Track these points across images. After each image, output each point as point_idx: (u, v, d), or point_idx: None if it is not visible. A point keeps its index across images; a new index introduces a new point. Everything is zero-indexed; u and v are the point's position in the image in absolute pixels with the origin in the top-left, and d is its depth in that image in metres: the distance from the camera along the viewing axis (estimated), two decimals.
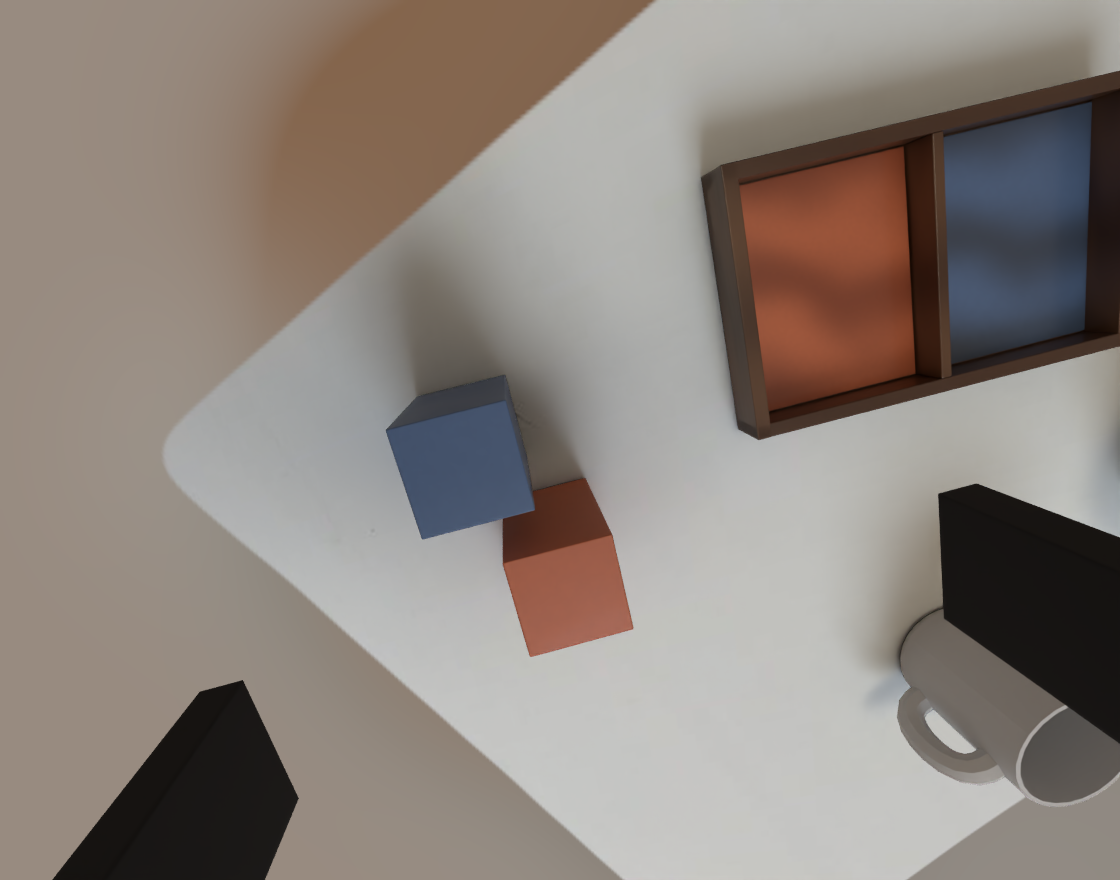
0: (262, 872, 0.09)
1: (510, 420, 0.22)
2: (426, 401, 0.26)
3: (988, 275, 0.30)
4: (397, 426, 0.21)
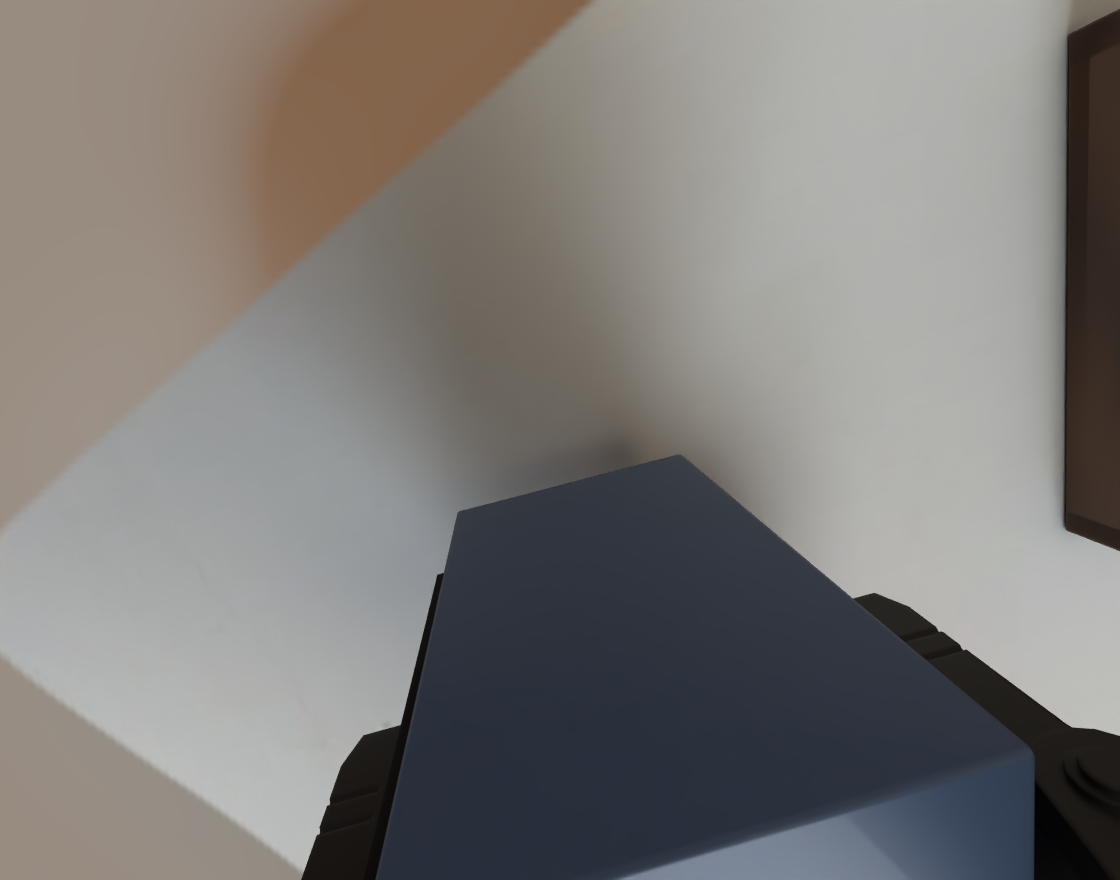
0: None
1: (1029, 839, 0.04)
2: (500, 562, 0.09)
3: None
4: None
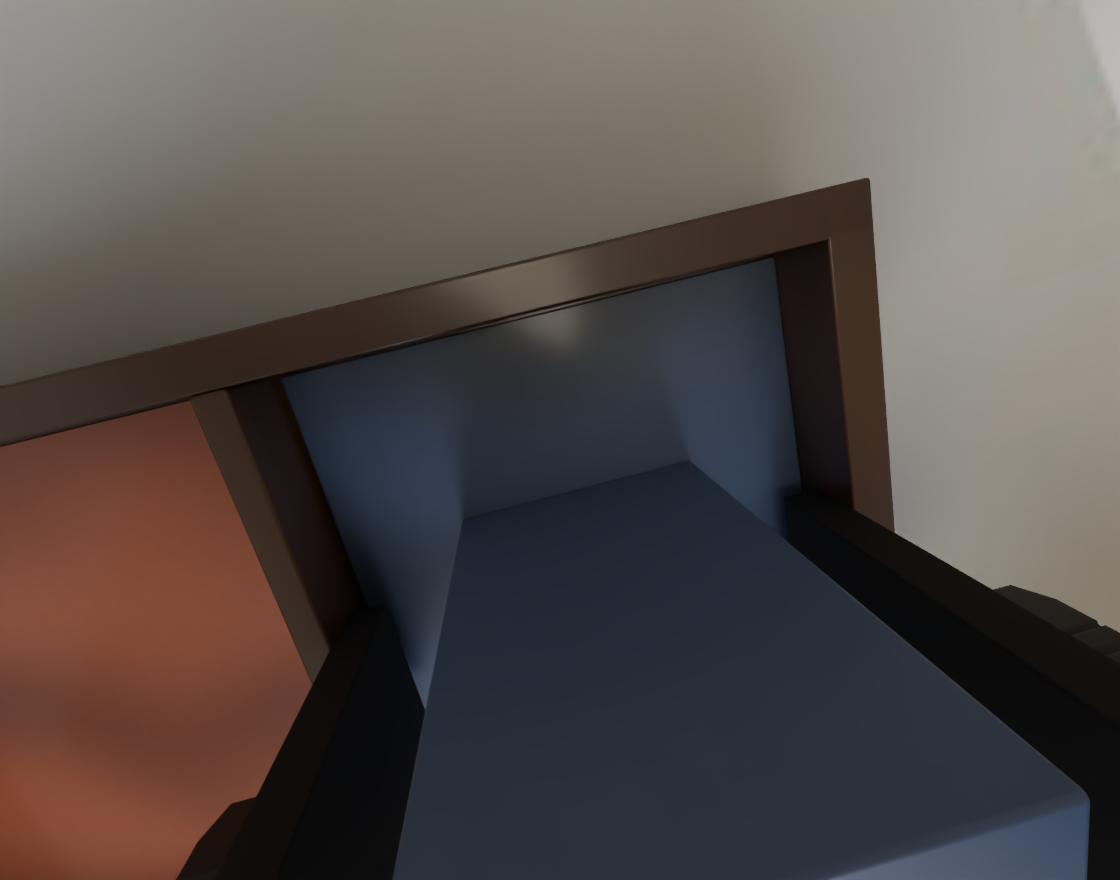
0: (410, 762, 0.10)
1: None
2: (507, 575, 0.08)
3: None
4: None
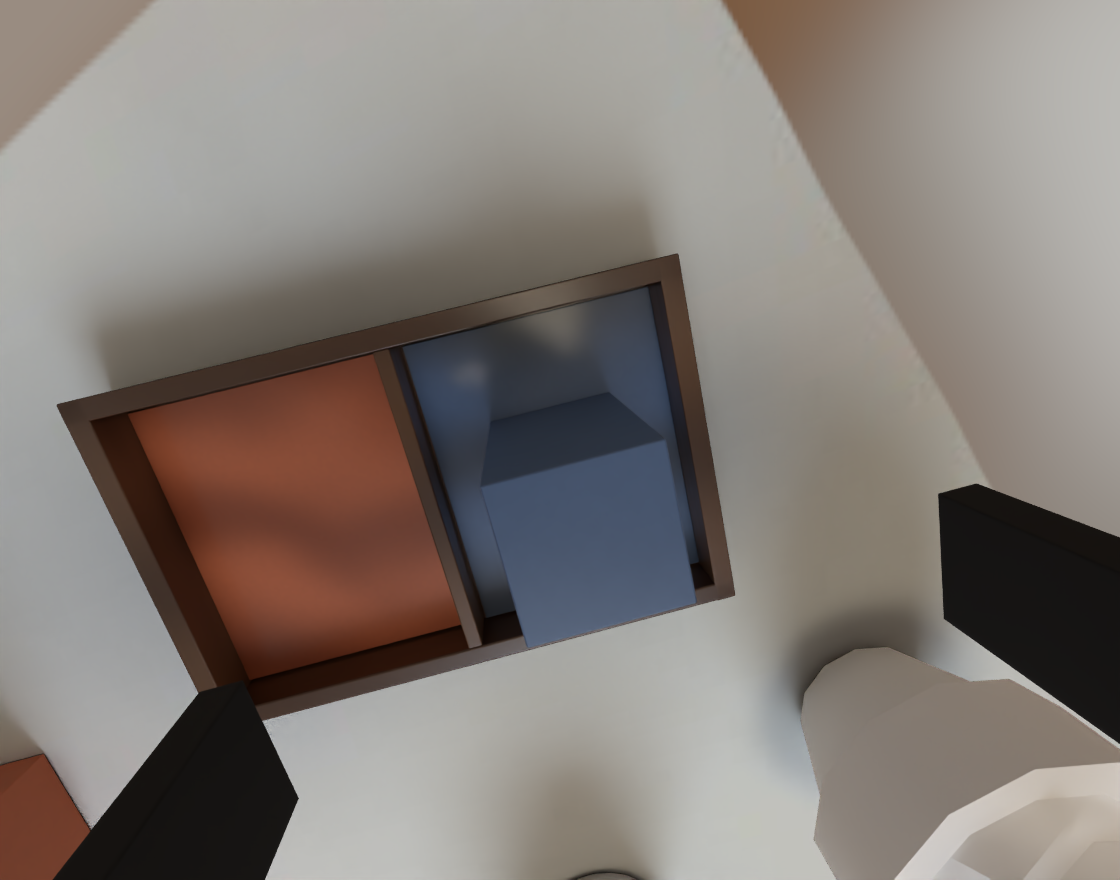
0: (263, 871, 0.09)
1: (670, 469, 0.14)
2: (514, 431, 0.19)
3: None
4: (497, 480, 0.14)
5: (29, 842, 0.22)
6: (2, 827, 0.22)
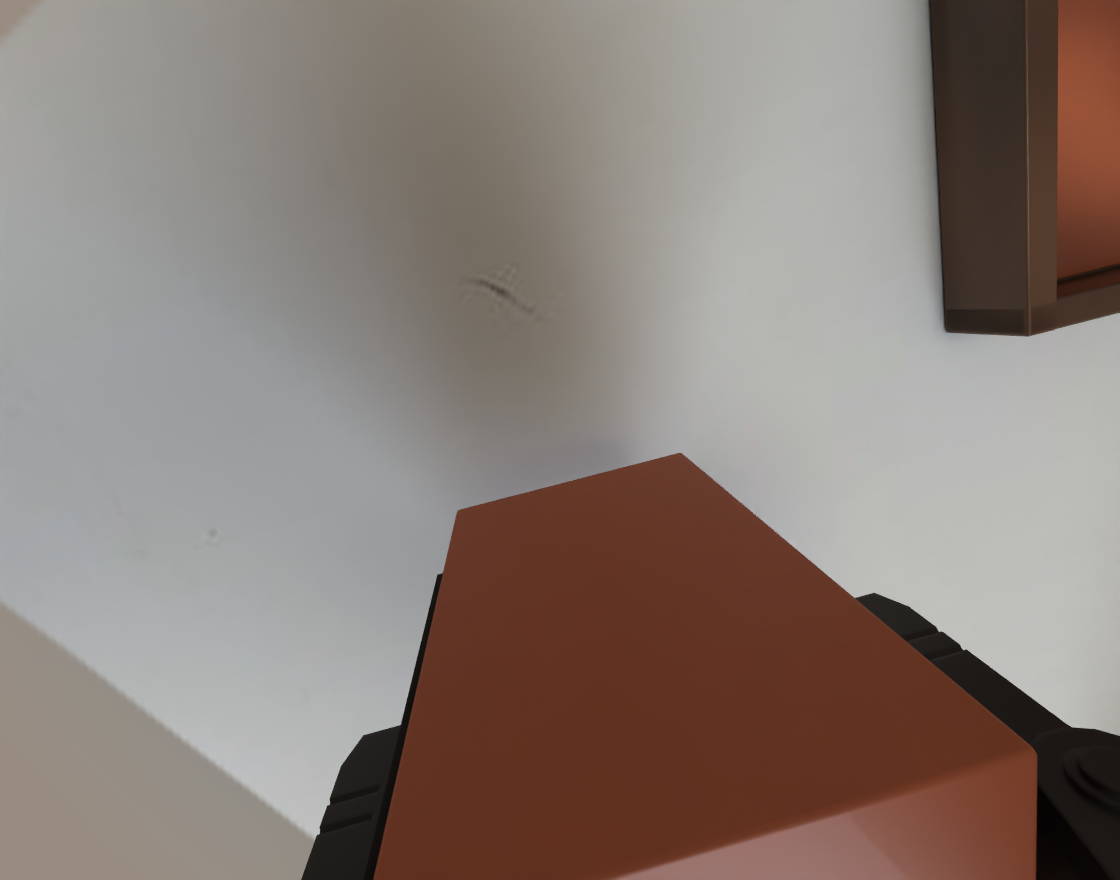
0: None
1: None
2: None
3: None
4: None
5: None
6: None
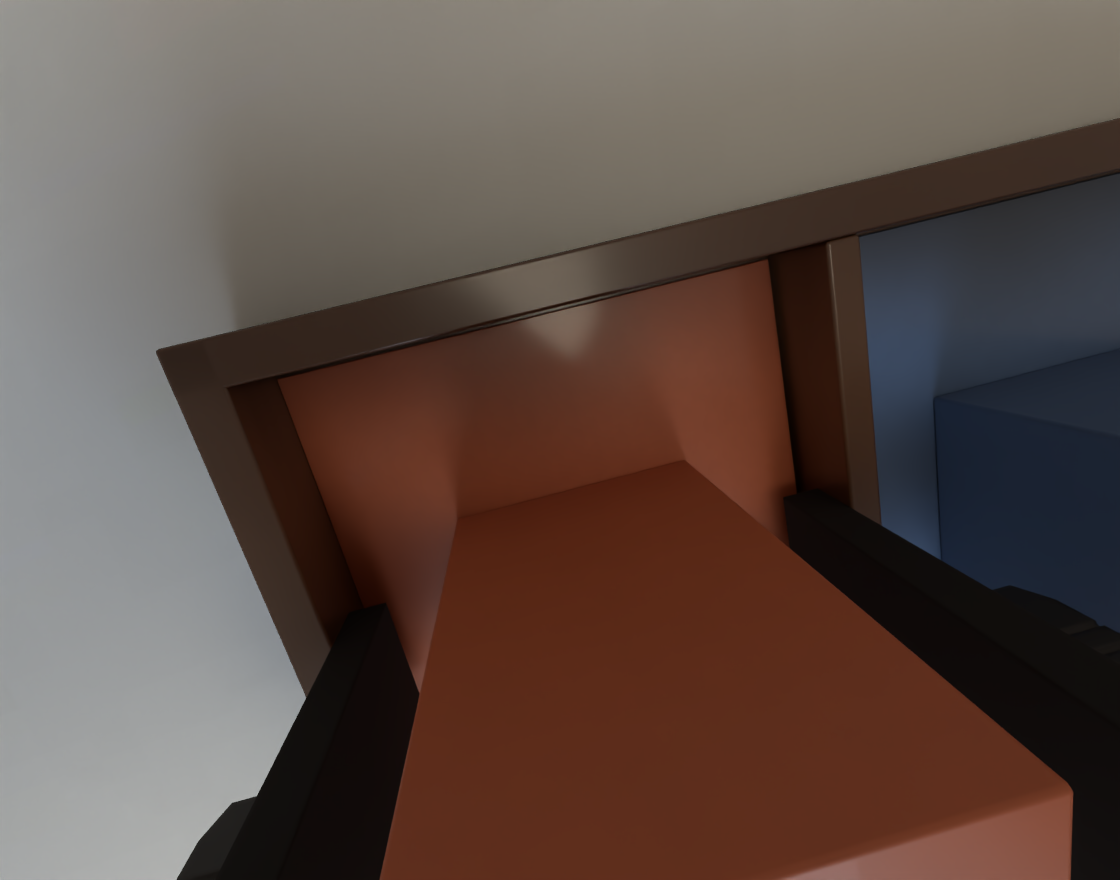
0: None
1: None
2: None
3: None
4: None
5: None
6: None
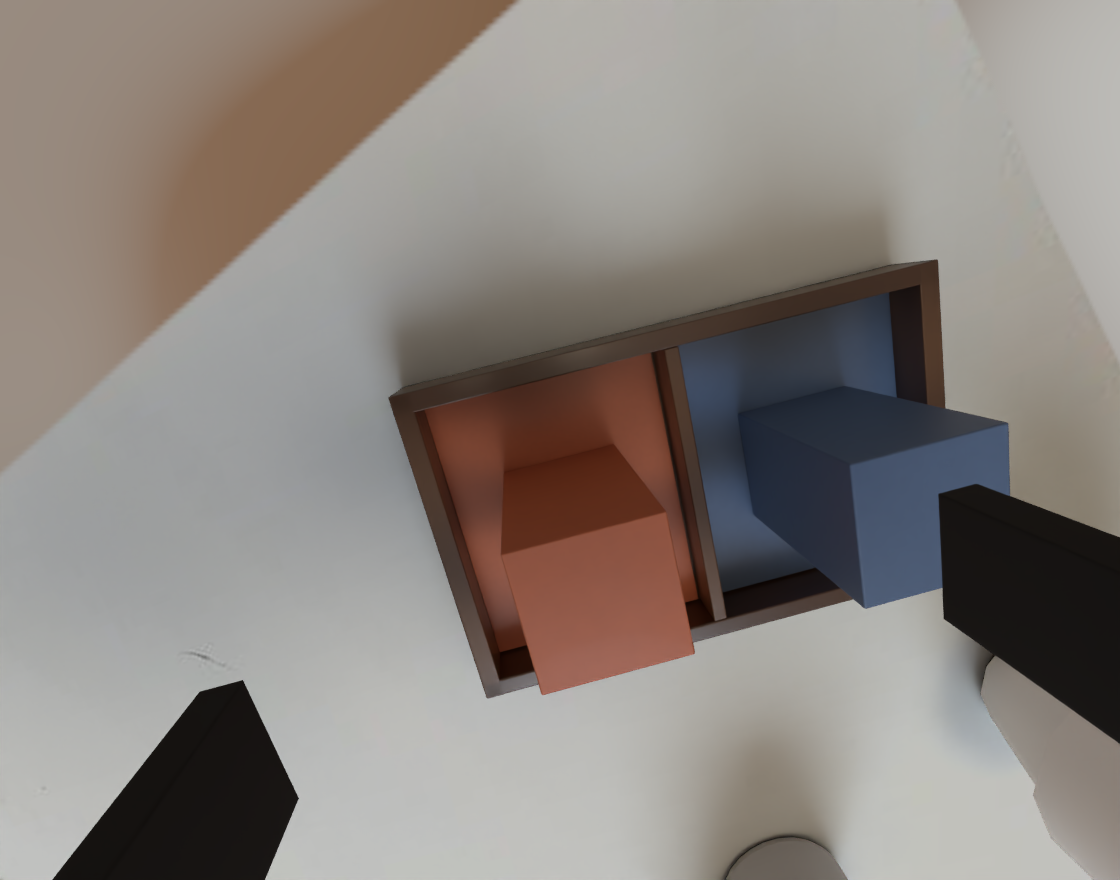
0: (262, 872, 0.09)
1: (1007, 450, 0.16)
2: (792, 420, 0.21)
3: None
4: (862, 459, 0.16)
5: None
6: None
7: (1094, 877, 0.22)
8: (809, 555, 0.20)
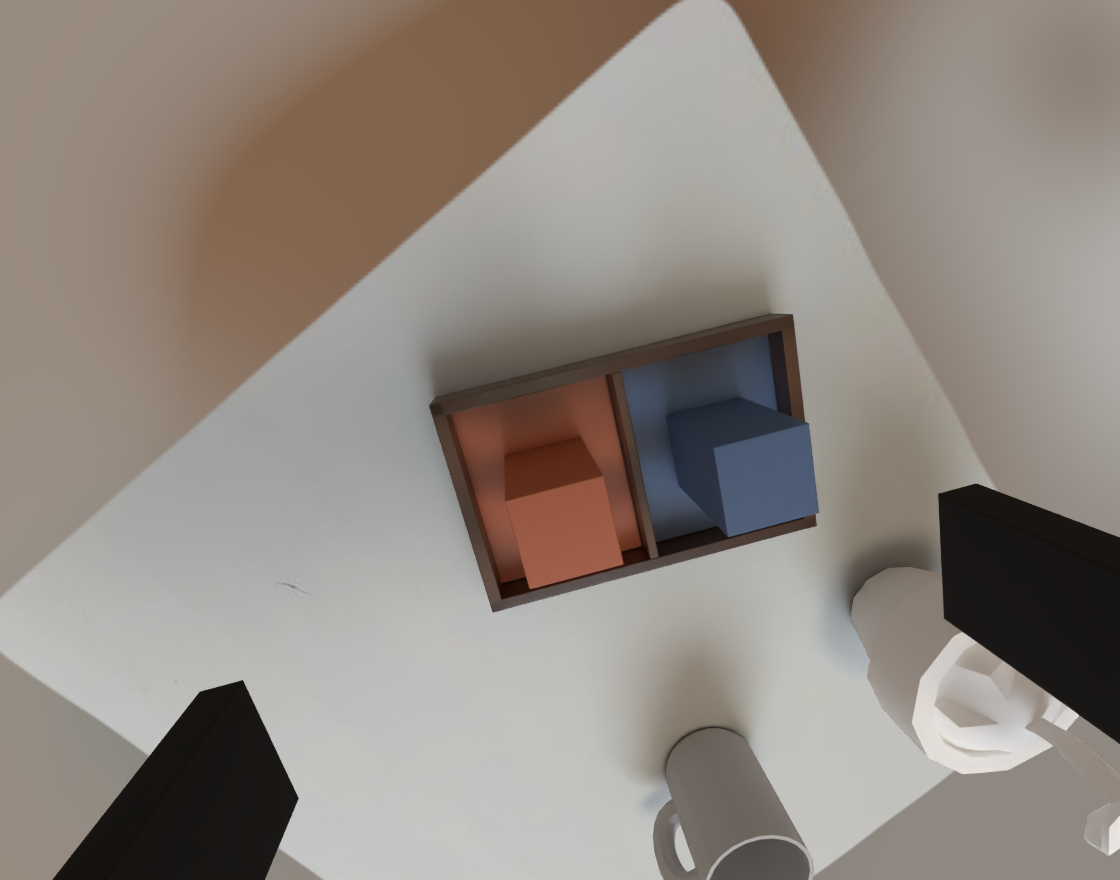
0: (262, 872, 0.09)
1: (809, 439, 0.27)
2: (696, 421, 0.31)
3: None
4: (721, 445, 0.26)
5: None
6: None
7: (902, 728, 0.33)
8: (704, 508, 0.30)
